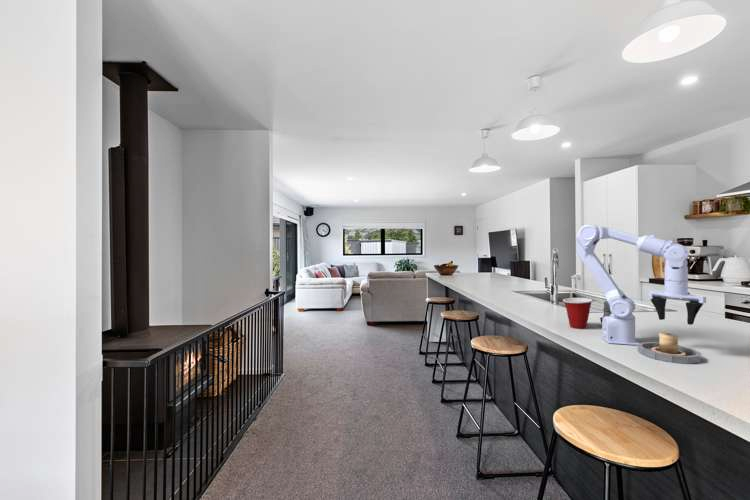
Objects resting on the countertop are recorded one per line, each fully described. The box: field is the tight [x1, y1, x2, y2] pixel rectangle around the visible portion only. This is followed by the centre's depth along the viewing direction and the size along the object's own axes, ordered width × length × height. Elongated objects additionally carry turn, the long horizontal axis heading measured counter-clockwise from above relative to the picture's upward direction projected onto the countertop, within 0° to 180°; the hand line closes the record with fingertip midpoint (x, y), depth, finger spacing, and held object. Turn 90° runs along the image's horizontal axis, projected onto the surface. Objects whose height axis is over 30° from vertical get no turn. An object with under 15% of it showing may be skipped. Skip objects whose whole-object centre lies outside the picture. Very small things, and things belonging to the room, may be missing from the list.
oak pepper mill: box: [658, 332, 679, 354], centre depth 107 cm, size 4×4×6 cm
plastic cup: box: [562, 297, 593, 330], centre depth 143 cm, size 11×11×12 cm
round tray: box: [637, 341, 702, 365], centre depth 107 cm, size 15×15×2 cm
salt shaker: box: [599, 300, 611, 329], centre depth 142 cm, size 6×6×12 cm
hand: (675, 321), depth 112 cm, fingers open, 7 cm apart
